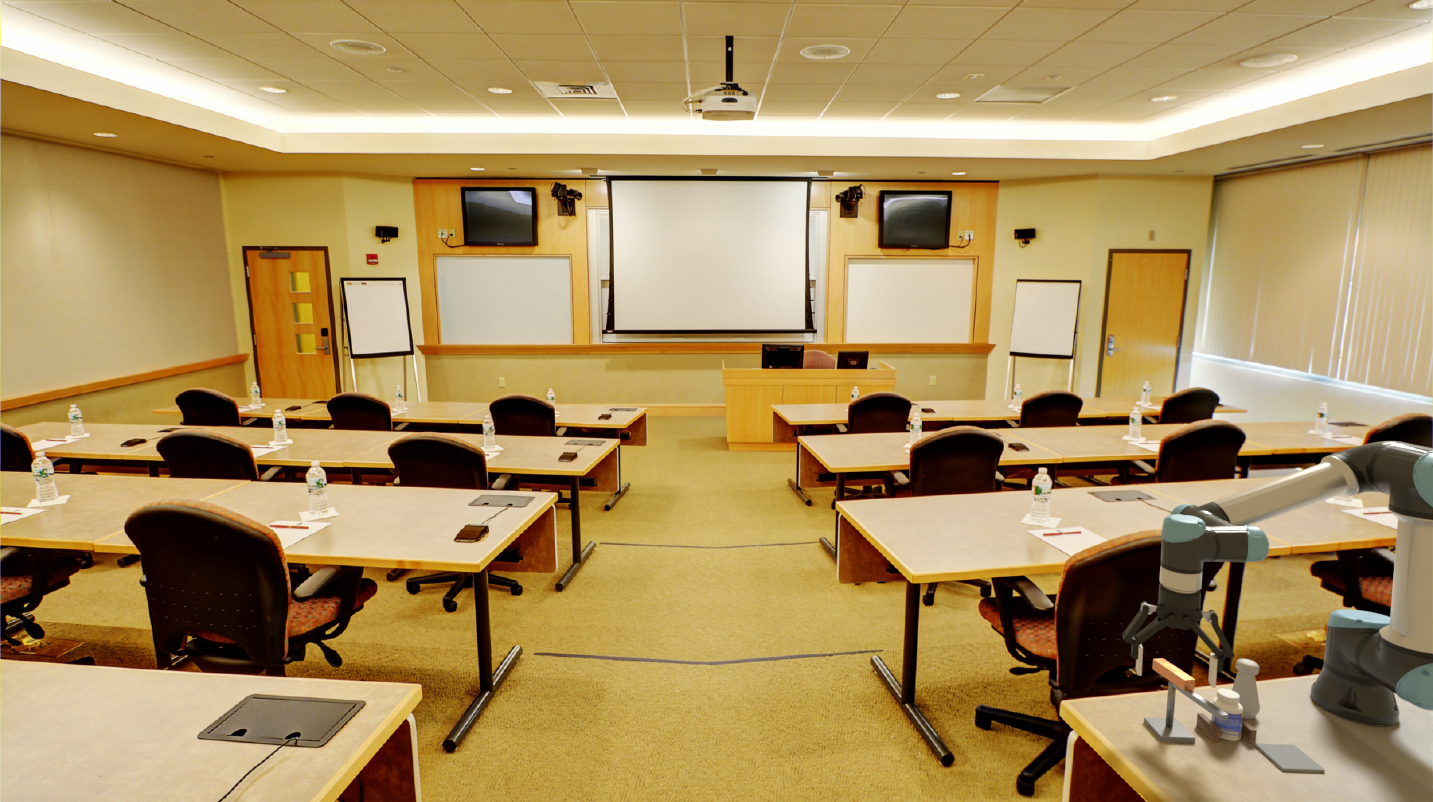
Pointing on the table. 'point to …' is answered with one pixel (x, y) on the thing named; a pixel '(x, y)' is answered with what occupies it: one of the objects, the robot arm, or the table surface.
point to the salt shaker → (1247, 687)
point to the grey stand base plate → (1169, 730)
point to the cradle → (1214, 730)
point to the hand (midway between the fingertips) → (1174, 678)
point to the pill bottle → (1229, 714)
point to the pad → (1289, 758)
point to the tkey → (1182, 690)
